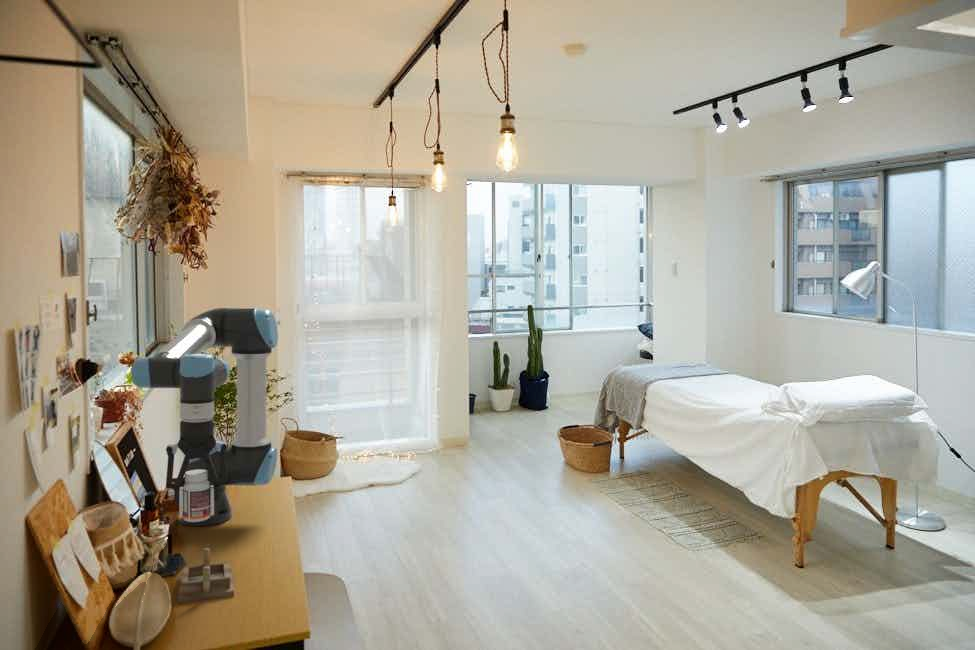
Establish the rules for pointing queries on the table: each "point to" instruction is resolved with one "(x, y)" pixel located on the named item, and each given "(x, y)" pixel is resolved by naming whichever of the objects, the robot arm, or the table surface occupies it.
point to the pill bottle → (196, 496)
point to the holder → (205, 581)
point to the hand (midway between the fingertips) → (196, 514)
